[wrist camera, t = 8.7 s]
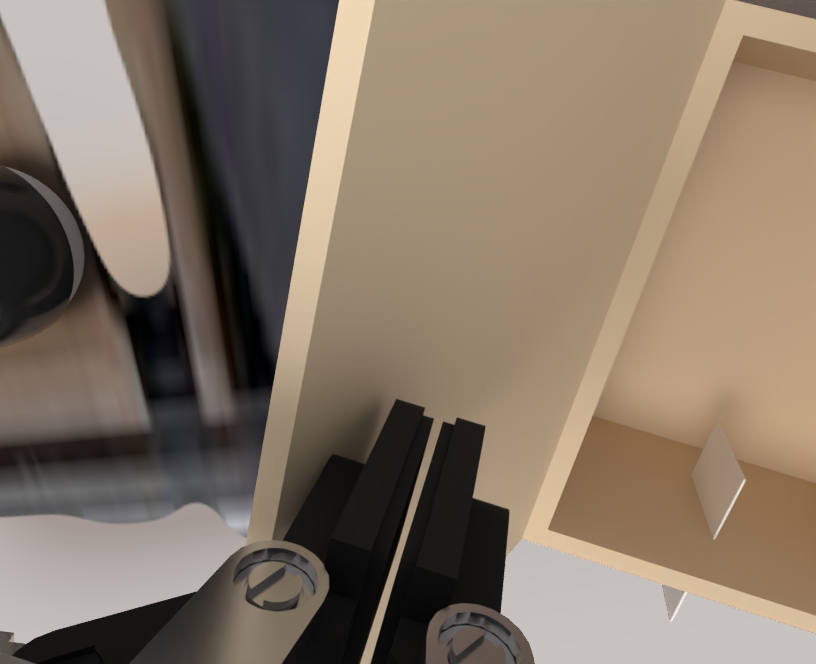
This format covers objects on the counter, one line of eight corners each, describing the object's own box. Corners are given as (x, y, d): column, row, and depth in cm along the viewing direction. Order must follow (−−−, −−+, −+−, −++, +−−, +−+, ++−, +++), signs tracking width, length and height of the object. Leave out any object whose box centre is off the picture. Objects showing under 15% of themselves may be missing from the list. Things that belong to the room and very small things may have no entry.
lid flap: (434, -311, 6) (384, -309, 7) (205, 888, 14) (187, 866, 15) (726, -2, 19) (705, -6, 20) (522, 538, 27) (508, 531, 27)
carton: (1037, 115, 29) (1335, 142, 18) (785, 548, 38) (878, 741, 27) (664, 24, 30) (726, -2, 19) (510, 462, 40) (494, 612, 29)
